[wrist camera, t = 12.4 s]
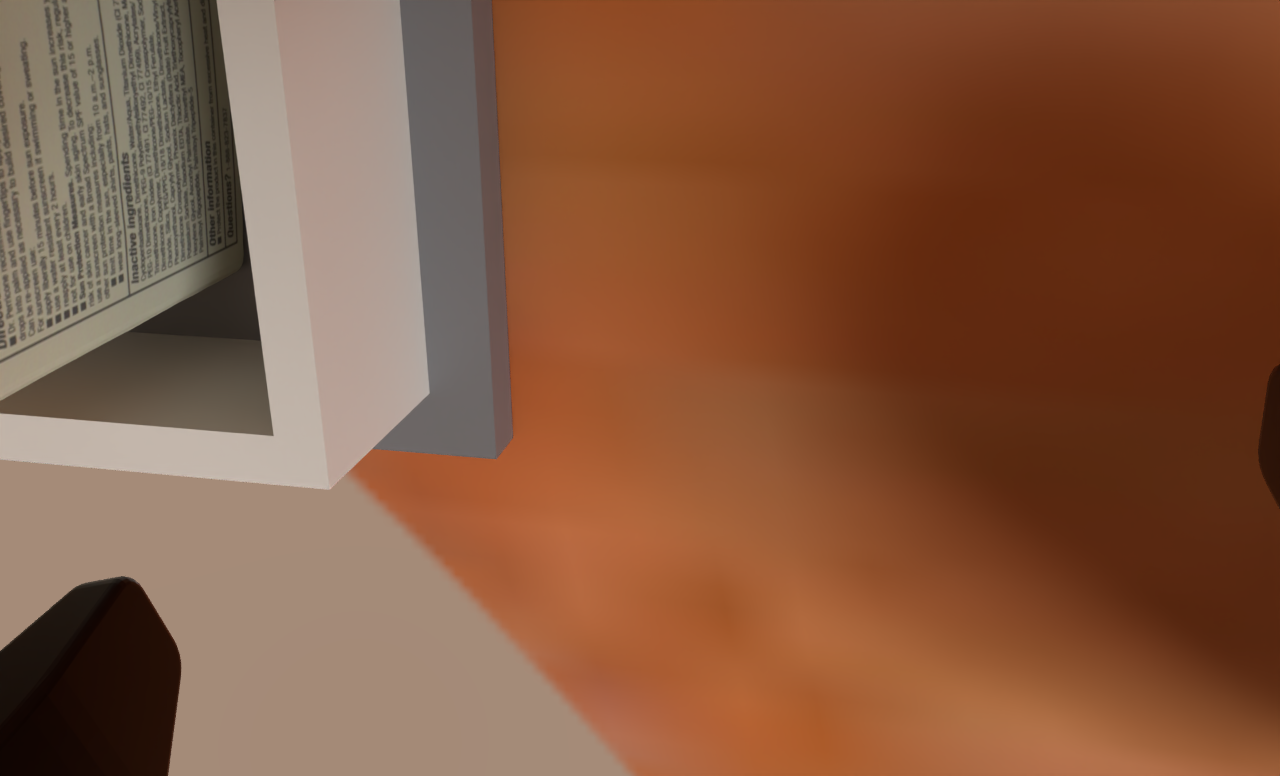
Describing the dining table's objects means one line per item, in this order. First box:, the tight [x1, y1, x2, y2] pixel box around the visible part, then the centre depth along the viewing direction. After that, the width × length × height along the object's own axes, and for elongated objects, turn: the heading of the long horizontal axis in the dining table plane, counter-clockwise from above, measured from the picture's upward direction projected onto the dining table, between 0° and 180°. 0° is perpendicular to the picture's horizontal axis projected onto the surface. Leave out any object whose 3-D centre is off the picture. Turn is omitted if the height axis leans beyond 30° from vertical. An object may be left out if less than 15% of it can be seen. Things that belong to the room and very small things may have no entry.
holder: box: [0, 0, 513, 489], centre depth 18 cm, size 13×13×5 cm
